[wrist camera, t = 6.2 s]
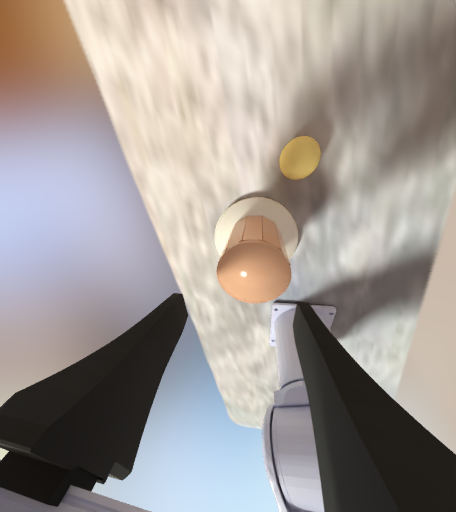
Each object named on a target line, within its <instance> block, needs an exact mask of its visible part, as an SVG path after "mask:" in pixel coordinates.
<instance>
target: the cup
mask: <svg viewBox="0 0 456 512" xmlns="http://www.w3.org/2000/svg"><path fill="white" fill-rule="evenodd" d="M217 278H218V281H219V283H220V285H221V287H222V288H223V289H224V290H225V291H226V292H227V293H228V294H229V295H230V296H232V297H234V298H236V299H238V300H240V301H243V302H248V303H263V302H268V301H271V300H273V299H275V298H277V297H279V296H280V295H281V294H282V293H284V291H285V290H286V289H287V287H288V286H289V283H290V281H291V268H290V262H289V258H288V255H287V252H286V248H285V245H284V242H283V238H282V235H281V233H280V231H279V229H278V227H277V226H276V224H275V222H273V221H272V220H270V219H268V218H266V217H264V216H262V215H259V216H248V217H247V216H246V217H245V218H243V219H242V220H240V221H238V222H237V223H235V225H234V227H233V229H232V231H231V233H230V235H229V238H228V240H227V242H226V245H225V247H224V250H223V252H222V255H221V257H220V259H219V262H218V266H217Z"/></svg>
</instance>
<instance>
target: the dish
mask: <svg viewBox="0 0 456 512" xmlns="http://www.w3.org/2000/svg"><path fill="white" fill-rule="evenodd" d="M259 215H262V216H264V217H266V218H268V219H270V220H272V221H273V222H275V224H276V226H277V227H278V229H279V231H280V233H281V235H282V238H283V242H284V245H285V248H286V252H287V255H288V258H289V260H290V258H291V257H292V256H293V254H294V252H295V250H296V247H297V244H298V229H297V225H296V223H295V220H294V219H293V217H292V215H291V214H290V212H289V211H288V210H287V209H286V208H285V207H284V206H283V205H281V204H280V203H278V202H276V201H274V200H272V199H268V198H263V197H251V198H246V199H243V200H240V201H238V202H236V203H234V204H233V205H231V206H230V207H229V208H228V209H227V210H226V211H225V212H224V213H223V215H222V216H221V217H220V219H219V221H218V223H217V226H216V230H215V244H216V248H217V251H218V253H219V255H220V256H221V255H222V252H223V250H224V247H225V245H226V242H227V240H228V238H229V235H230V233H231V231H232V229H233V227H234V225H235V223H237V222H238V221H240V220H242V219H243V218H245V217H246V216H247V217H248V216H259Z"/></svg>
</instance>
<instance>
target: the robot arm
mask: <svg viewBox="0 0 456 512" xmlns="http://www.w3.org/2000/svg"><path fill="white" fill-rule="evenodd" d="M275 308H277V309H275ZM331 312H332V313H331ZM335 314H336V308H335V307H333V306H319V305H310V304H309V303H305V302H297V304H289V303H273V305H272V317H271V329H270V341H269V344H270V346H273V347H276V354H277V366H278V377H279V388H280V390H278V391H274V403H272V404H270V405H269V406H268V408H267V411H266V414H265V417H264V421H263V427H262V448H263V457H264V463H265V468H266V473H267V476H268V480H269V483H270V485H271V488H272V490H273V493H274V495H275V498H276V502H277V505H278V508H279V512H456V454H454V453H453V452H452V451H451V450H450V449H448V448H447V447H446V446H445V445H444V444H443V443H442V442H440V441H439V440H438V439H437V438H436V437H435V436H433V435H432V434H431V433H430V432H429V431H428V430H426V429H425V428H424V427H423V426H422V425H421V424H420V423H419V422H418V421H416V420H415V419H414V418H413V417H412V416H411V415H410V414H409V413H408V412H407V411H406V410H404V409H403V408H402V407H401V406H400V405H399V404H398V403H397V402H396V401H395V400H394V399H392V398H391V397H390V396H389V395H388V394H387V393H386V392H385V391H384V390H383V389H382V388H381V387H380V386H379V385H378V384H377V383H376V382H375V381H374V380H373V379H372V378H371V377H370V376H369V375H368V374H367V373H366V372H365V371H364V370H363V369H362V368H361V367H360V365H359V364H358V363H357V362H356V361H355V360H354V359H353V358H352V357H351V356H350V355H349V353H348V352H347V351H346V350H345V349H344V348H343V347H342V345H341V344H340V343H339V342H338V341H337V339H336V338H335V337H334V336H333V334H332V332H331V330H330V328H331V325H332V322H333V320H334V317H335ZM187 317H188V313H187V310H186V306H185V302H184V298H183V295H182V294H177V293H174V294H172V295H171V296H170V297H169V298H167V299H166V300H165V301H164V302H163V303H161V304H160V305H159V306H158V307H157V308H156V309H154V310H153V311H152V312H151V313H149V314H148V315H147V316H146V317H145V318H143V319H142V320H141V321H139V322H138V323H137V324H135V325H134V326H133V327H131V328H130V329H129V330H127V331H126V332H125V333H123V334H122V335H120V336H119V337H117V338H116V339H115V340H113V341H111V342H110V343H109V344H107V345H105V346H104V347H102V348H100V349H99V350H97V351H95V352H94V353H92V354H90V355H89V356H87V357H85V358H84V359H82V360H80V361H78V362H76V363H75V364H73V365H71V366H69V367H67V368H65V369H64V370H62V371H60V372H58V373H56V374H54V375H52V376H50V377H48V378H46V379H44V380H42V381H40V382H37V383H35V384H34V385H31V386H29V387H27V388H25V389H23V390H21V391H19V392H17V393H15V394H14V395H13V396H12V397H11V398H10V399H8V400H7V401H6V402H5V403H4V404H3V405H2V406H1V407H0V448H3V449H5V450H8V451H9V452H8V453H7V454H6V455H5V457H4V458H3V459H2V460H0V512H150V511H147V510H144V509H141V508H138V507H135V506H132V505H129V504H126V503H123V502H120V501H117V500H114V499H111V498H108V497H105V496H102V495H99V494H96V493H93V492H91V491H92V489H93V487H94V485H95V483H96V482H98V483H101V484H104V483H105V482H106V480H107V477H108V476H109V477H113V478H116V479H119V480H123V479H125V478H126V477H127V476H128V475H129V474H130V473H131V472H132V469H133V465H134V461H135V458H136V454H137V451H138V447H139V444H140V440H141V437H142V434H143V431H144V428H145V424H146V422H147V418H148V415H149V412H150V409H151V406H152V403H153V400H154V398H155V394H156V392H157V389H158V386H159V384H160V381H161V378H162V375H163V373H164V371H165V368H166V366H167V364H168V362H169V360H170V357H171V355H172V353H173V351H174V349H175V347H176V344H177V343H178V340H179V338H180V336H181V334H182V332H183V329H184V326H185V323H186V320H187Z"/></svg>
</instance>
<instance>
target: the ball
mask: <svg viewBox="0 0 456 512" xmlns="http://www.w3.org/2000/svg"><path fill="white" fill-rule="evenodd" d="M320 156H321V151H320V147H319V144H318V143H317V141H316V140H314V139H313V138H311V137H309V136H300V137H297V138H294V139H293V140H291V141H290V142H289V143H288V144H287V145H286V146H285V147H284V149H283V151H282V153H281V156H280V169H281V171H282V173H283V174H284V175H285V176H286V177H287V178H289V179H293V180H299V179H303V178H305V177H307V176H309V175H310V174H311V173H312V172H313V171H314V170H315V169H316V167H317V165H318V163H319V161H320Z"/></svg>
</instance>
